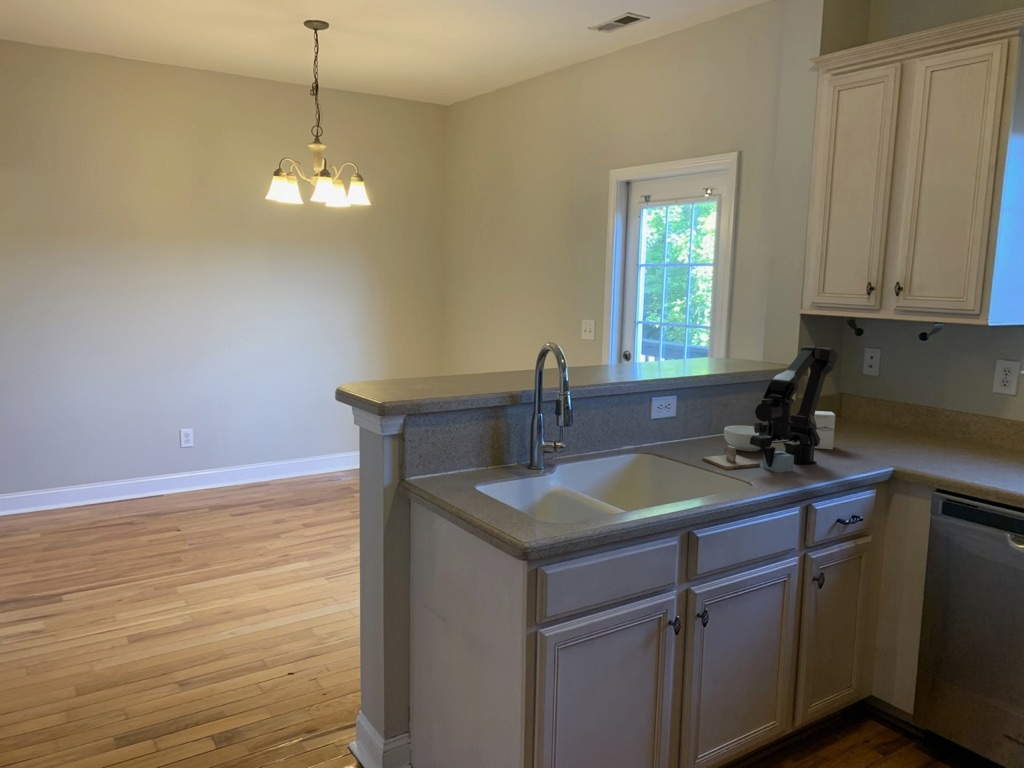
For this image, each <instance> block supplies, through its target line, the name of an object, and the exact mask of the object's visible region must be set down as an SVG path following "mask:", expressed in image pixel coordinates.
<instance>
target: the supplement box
mask: <svg viewBox="0 0 1024 768" xmlns="http://www.w3.org/2000/svg"><path fill="white" fill-rule="evenodd" d="M814 419H815V422H816V425H817V427H816V432H817V433H818V435H819V437H820V443H819V445H818V446H814V449H822V450H823V449H824V450H834V439H835V438H834V437H835V425H836V414H835V413H834V412H833V411H822V410H816V411H815V414H814Z"/></svg>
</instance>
